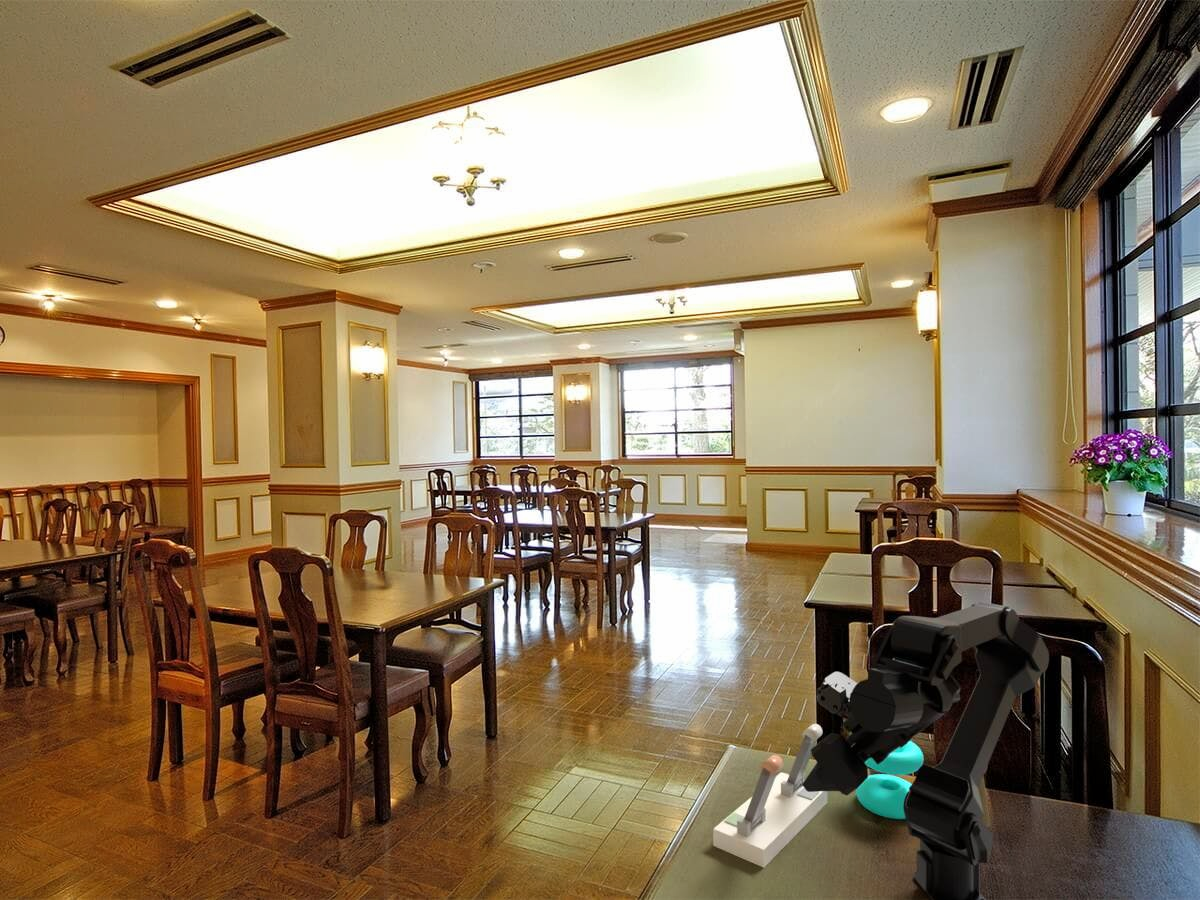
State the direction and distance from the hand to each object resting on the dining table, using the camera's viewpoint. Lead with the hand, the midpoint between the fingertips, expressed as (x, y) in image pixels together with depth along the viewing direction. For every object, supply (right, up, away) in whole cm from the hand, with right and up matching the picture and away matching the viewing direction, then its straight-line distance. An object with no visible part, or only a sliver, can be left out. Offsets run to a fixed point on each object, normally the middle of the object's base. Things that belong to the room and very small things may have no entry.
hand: (820, 774), depth 93 cm
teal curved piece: (+16, -13, +17) cm, 27 cm away
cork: (+27, -13, +13) cm, 32 cm away
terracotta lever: (-8, -10, +7) cm, 14 cm away
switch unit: (-3, -13, +12) cm, 18 cm away
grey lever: (+1, -10, +17) cm, 20 cm away
